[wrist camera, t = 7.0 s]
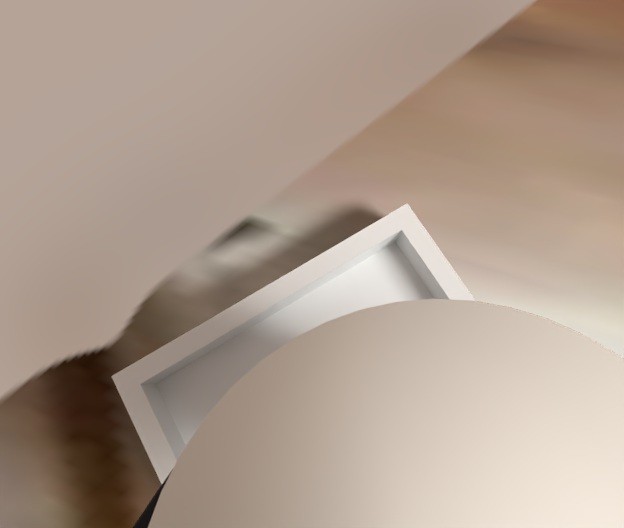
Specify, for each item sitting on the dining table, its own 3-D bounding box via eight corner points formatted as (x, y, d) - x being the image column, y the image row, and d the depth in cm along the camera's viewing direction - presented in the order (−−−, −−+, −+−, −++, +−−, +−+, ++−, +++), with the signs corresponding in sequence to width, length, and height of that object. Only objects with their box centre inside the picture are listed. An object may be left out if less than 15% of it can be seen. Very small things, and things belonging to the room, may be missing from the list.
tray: (586, 497, 17) (626, 514, 15) (293, 702, 16) (288, 757, 14) (397, 223, 20) (407, 203, 18) (137, 376, 19) (111, 376, 17)
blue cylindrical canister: (466, 469, 17) (985, 792, 4) (329, 560, 16) (352, 1349, 3) (379, 331, 18) (526, 200, 5) (249, 410, 18) (24, 498, 4)
